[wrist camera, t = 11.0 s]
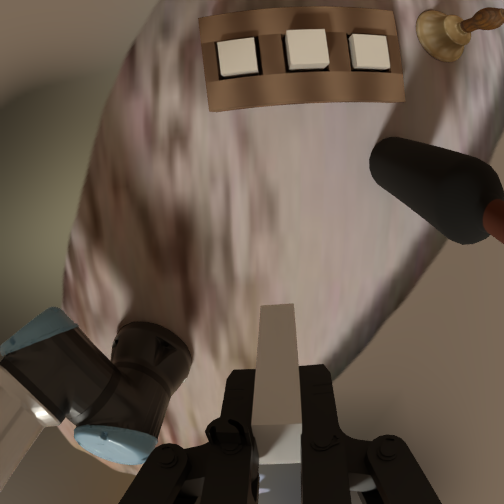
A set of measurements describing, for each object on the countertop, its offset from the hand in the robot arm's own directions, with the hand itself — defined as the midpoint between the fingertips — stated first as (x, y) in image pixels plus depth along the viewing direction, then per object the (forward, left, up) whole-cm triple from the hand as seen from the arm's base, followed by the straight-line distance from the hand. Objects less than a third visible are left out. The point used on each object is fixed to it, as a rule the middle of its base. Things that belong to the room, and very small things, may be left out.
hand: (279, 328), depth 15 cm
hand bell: (+26, +22, -30) cm, 45 cm away
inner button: (-3, +17, -28) cm, 33 cm away
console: (+5, +17, -29) cm, 34 cm away
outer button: (+13, +17, -28) cm, 35 cm away
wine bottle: (+17, +3, -30) cm, 34 cm away
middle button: (+5, +17, -26) cm, 32 cm away
